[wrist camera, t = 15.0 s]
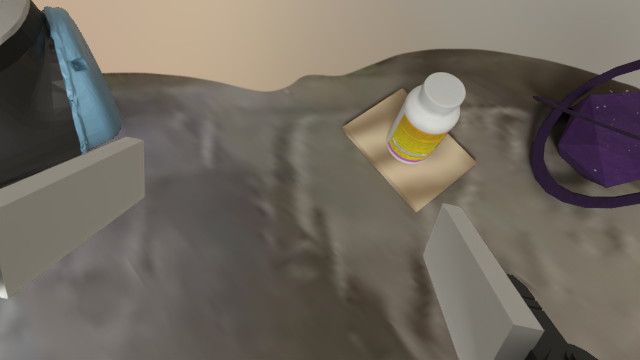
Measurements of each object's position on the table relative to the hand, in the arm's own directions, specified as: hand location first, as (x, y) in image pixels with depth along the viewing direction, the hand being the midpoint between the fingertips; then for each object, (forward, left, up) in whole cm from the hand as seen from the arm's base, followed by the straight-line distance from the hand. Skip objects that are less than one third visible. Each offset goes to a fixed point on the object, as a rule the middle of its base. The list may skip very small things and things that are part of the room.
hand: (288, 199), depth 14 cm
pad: (-4, +24, -29) cm, 38 cm away
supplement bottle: (-5, +24, -28) cm, 37 cm away
